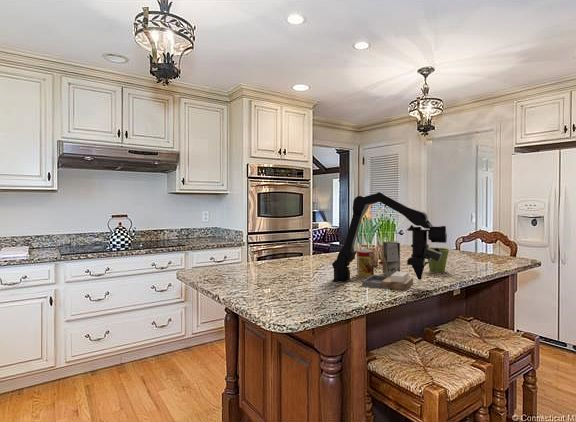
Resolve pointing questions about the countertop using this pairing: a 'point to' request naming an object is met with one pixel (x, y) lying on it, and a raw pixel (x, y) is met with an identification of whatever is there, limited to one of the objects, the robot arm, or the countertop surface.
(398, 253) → the coffee box
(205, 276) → the countertop surface
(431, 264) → the plant pot
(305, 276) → the countertop surface
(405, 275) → the cream tile
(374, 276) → the box
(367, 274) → the canned food
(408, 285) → the plate
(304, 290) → the countertop surface
